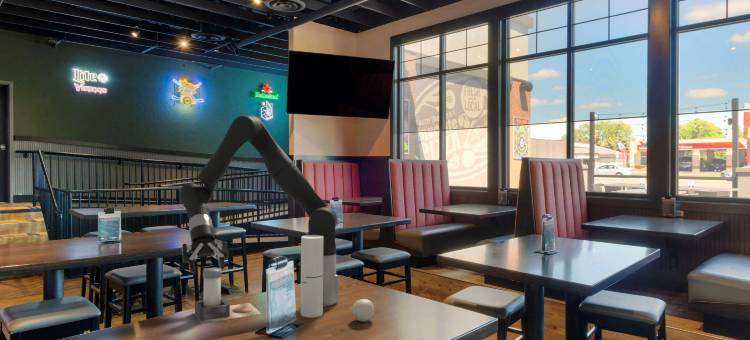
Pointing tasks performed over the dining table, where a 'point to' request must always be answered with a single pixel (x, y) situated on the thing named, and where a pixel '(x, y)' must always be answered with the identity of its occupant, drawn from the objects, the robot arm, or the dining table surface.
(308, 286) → the cylindrical container
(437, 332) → the dining table surface
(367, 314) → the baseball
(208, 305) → the cylinder
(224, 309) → the socket board
